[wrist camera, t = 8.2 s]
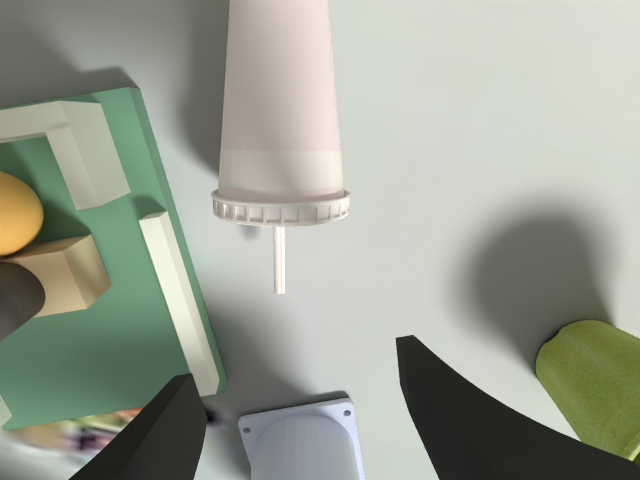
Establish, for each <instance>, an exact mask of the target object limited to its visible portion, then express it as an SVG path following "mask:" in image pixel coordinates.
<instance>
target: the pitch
mask: <svg viewBox="0 0 640 480" xmlns="http://www.w3.org/2000/svg"><path fill="white" fill-rule="evenodd" d="M0 171H1V172H4V173H7V174H10V175H12V176H14V177H16V178H18V179H20V180H21V181H23V182H24V183H25V184H27V185H28V186H29V187H30V188H31V189H32V190H33V191H34V192H35V193H36V195H37V196H38V198H39V200H40V202H41V204H42V207H43V212H44V219H43V224H42V227H41V230H40V232H39V234H38V235H37V237H36V238H35V239H34V240H33V241H32V242H31V243H30V244H29V245H31V244H37V243H43V242H49V241H55V240H60V239H66V238H72V237H78V236H84V235H90V234H91V235H92V238H93V240H94V243H95V245H96V248H97V250H98V253H99V255H100V258H101V260H102V263H103V265H104V268H105V270H106V273H107V276H108V278H109V281H110V283H111V287H110V288H109V289H108V290H107V291H106V292H105V293H103V294H102V295H101V296H100V297H99V298H98V299H97V300H96V301H95V302H94V303H93V304H91V305H90V306H89V307H88V308H87V309H82V310H76V311H70V312H64V313H58V314H52V315H46V316H40V317H34V318H31V319H30V320H28V321H27V322H26V323H24V324H23V325H22V326H21V327H19V328H18V329H17V330H15V331H14V332H13V333H11V334H10V335H9V336H7V337H6V338H5V339H3V340H2V341H1V342H0V428H1V427H2V429H3V430H9V429H15V428H21V427H26V426H32V425H38V424H44V423H50V422H56V421H61V420H67V419H73V418H79V417H85V416H90V415H96V414H102V413H108V412H114V411H119V410H125V409H131V408H137V407H143V406H146V405H147V404H148V403H149V402H150V401H151V400H152V399H153V398H154V397H155V396H156V395H157V394H158V392H159V391H160V390H161V389H162V388H163V387H164V386H165V385H166V384H167V383H168V382H169V381H170V380H171V379H172V378H173V377H174V376H177V375H182V374H188V373H192V374H193V377H194V380H195V383H196V386H197V389H198V392H199V395H200V397H202V396H208V395H214V394H218V393H224V390H225V386H226V382H227V377H226V374H225V370H224V367H223V364H222V360H221V357H220V354H219V350H218V347H217V344H216V340H215V337H214V334H213V331H212V327H211V324H210V321H209V317H208V314H207V311H206V307H205V304H204V301H203V297H202V294H201V291H200V287H199V284H198V281H197V277H196V274H195V271H194V267H193V264H192V261H191V258H190V254H189V251H188V248H187V244H186V241H185V238H184V234H183V231H182V228H181V224H180V221H179V218H178V214H177V211H176V208H175V204H174V201H173V198H172V195H171V191H170V188H169V185H168V181H167V178H166V175H165V171H164V168H163V165H162V161H161V158H160V155H159V151H158V148H157V145H156V141H155V138H154V135H153V131H152V128H151V125H150V122H149V118H148V115H147V112H146V108H145V105H144V102H143V98H142V95H141V92H140V89H138V88H132V87H125V88H119V89H112V90H106V91H100V92H94V93H88V94H82V95H76V96H69V97H63V98H57V99H51V100H45V101H39V102H33V103H26V104H20V105H14V106H8V107H2V108H0Z"/></svg>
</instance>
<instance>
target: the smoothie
mask: <svg viewBox="0 0 640 480" xmlns="http://www.w3.org/2000/svg"><path fill="white" fill-rule="evenodd" d="M211 196H212V198H213V213H214V215H215V216H216V217H218V218H220V219H222V220H225V221H227V222H232V223H236V224H242V225H250V226H263V227H273V250H274V292H275V293H276V294H283V293H285V245H284V227H297V226H310V225H318V224H324V223H329V222H334V221H337V220H340V219H342V218H344V217H346V216H347V215H348V213H349V198H350V196H351V193H350V192H349V191H347V190H344V184H343V173H342V159H341V149H340V137H339V125H338V113H337V101H336V89H335V77H334V66H333V54H332V42H331V30H330V18H329V6H328V0H230V8H229V24H228V40H227V56H226V72H225V88H224V104H223V120H222V136H221V148H220V167H219V183H218V189H217V190H214V191H213V192H211Z"/></svg>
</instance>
